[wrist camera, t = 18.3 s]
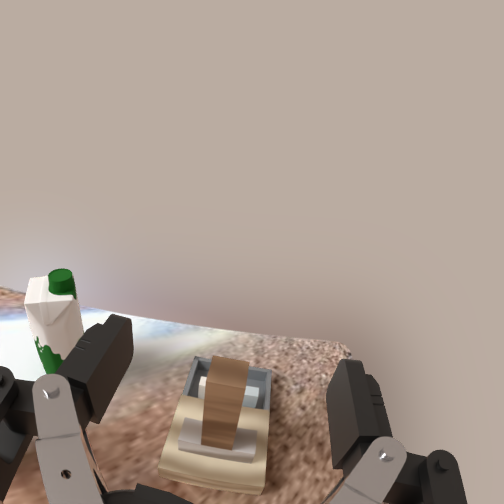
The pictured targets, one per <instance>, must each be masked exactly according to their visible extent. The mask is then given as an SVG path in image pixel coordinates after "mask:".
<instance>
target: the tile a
mask: <svg viewBox="0 0 504 504" xmlns="http://www.w3.org/2000/svg"><path fill="white" fill-rule="evenodd" d="M206 379H207V377H203V376H201V379H200V383H199V390H198V398H200V399H204V397H205V385H206Z"/></svg>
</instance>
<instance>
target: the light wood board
mask: <svg viewBox="0 0 504 504" xmlns="http://www.w3.org/2000/svg"><path fill="white" fill-rule="evenodd" d="M203 409H204V399H200V398H195V397H191V396H186V395H182V394H181V397H180V400H179V403H178V406H177V409H176V412H175V415H174V418H173V421H172V424H171V427H170V430H169V433H168V436H167V439H166V442H165V445H164V448H163V451H162V455H161V458H160V461H159V464H158V472H159V477H162V478H165V479H169V480H173V481H177V482H182V483H186V484H191V485H195V486H200V487H205V488H211V489H216V490H222V491H228V492H235V493H242V494H250V495H259V496H260V494H261V492H262V491H263V489H264V486H265V473H266V459H267V445H268V430H269V414H270V410H263V409H256V408H250V407H243V406H242V408H241V412H240V417H239V421H238V426H237V428H243V429H250V430H257V441H256V450H255V456H254V459H253V461H252V464H249V463H242V462H236V461H229V460H224V459H218V458H213V457H207V456H203V455H198V454H193V453H189V452H184V451H180V450H178V438H179V435H180V431H181V428H182V425H183V422H184V418H185V417H186V418H191V419H195V420H200V421H203Z"/></svg>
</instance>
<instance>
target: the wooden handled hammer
mask: <svg viewBox="0 0 504 504" xmlns="http://www.w3.org/2000/svg"><path fill="white" fill-rule="evenodd" d="M248 369H249V362H246V361H240V360H234V359H229V358H224V357H218V356H213V357H212V361H211V364H210V368H209V372H208V375H207V379H206V385H205V397H204V409H203V421H200V420H195V419H191V418H186V417H185V418H184V422H183V425H182V428H181V431H180V435H179V438H178V450H180V451H184V452H189V453H193V454H198V455H203V456H207V457H213V458H218V459H224V460H229V461H236V462H242V463H249V464H252V461H253V459H254V456H255V450H256V441H257V430H250V429H243V428H237V426H238V421H239V417H240V412H241V408H242V403H243V399H244V394H245V390H246V383H247V376H248Z"/></svg>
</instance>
